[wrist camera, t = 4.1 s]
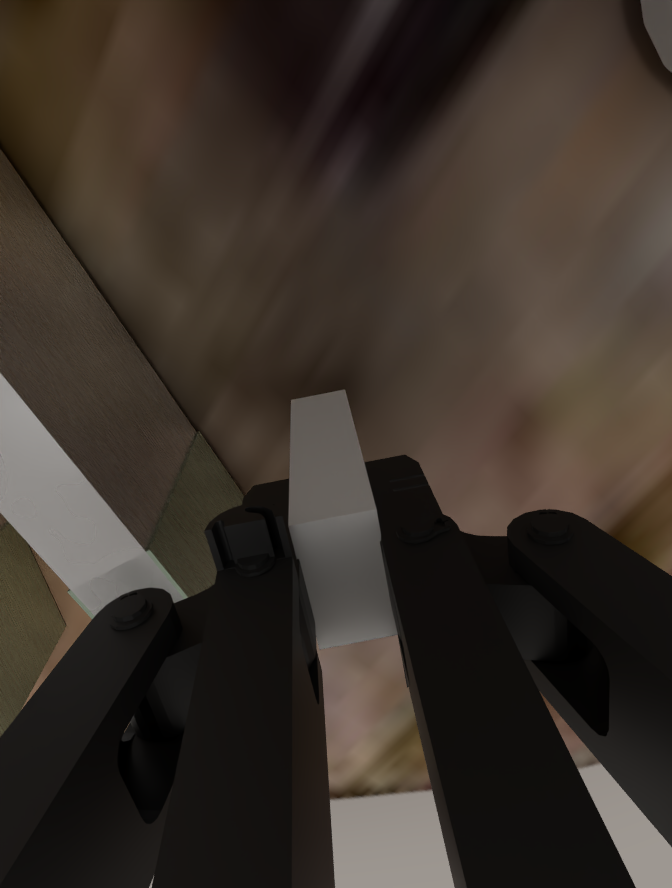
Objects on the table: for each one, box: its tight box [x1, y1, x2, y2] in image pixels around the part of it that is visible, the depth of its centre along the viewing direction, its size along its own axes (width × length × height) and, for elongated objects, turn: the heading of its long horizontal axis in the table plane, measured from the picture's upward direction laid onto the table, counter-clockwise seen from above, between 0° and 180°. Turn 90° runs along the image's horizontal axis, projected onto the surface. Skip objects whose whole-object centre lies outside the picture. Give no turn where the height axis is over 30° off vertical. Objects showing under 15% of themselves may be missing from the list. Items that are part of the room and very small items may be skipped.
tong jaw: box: [0, 148, 244, 619], centre depth 15 cm, size 17×2×7 cm, turn 28°
